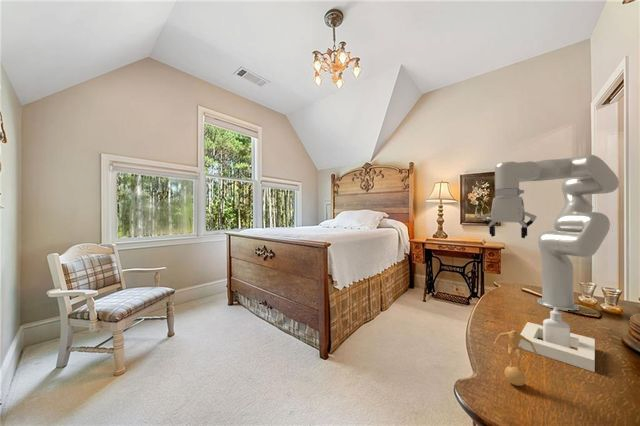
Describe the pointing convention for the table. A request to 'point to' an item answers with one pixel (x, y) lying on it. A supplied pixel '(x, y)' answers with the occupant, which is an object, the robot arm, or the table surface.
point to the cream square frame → (561, 347)
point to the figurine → (512, 372)
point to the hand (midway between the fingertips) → (507, 237)
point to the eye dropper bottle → (556, 329)
